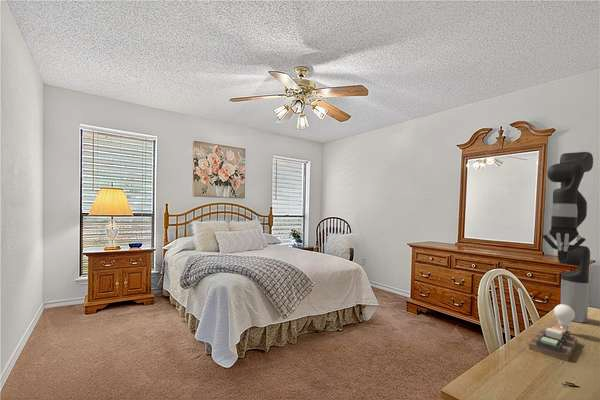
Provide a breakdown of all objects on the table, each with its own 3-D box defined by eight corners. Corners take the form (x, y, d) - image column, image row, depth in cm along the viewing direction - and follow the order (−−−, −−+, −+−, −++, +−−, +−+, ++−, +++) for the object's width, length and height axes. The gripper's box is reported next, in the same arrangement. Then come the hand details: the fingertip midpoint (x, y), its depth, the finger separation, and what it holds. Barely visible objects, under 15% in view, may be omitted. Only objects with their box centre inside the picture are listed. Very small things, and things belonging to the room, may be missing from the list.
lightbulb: (575, 337, 116) (576, 308, 116) (553, 332, 120) (554, 304, 120) (573, 332, 121) (574, 304, 121) (552, 327, 125) (553, 301, 125)
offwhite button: (548, 332, 110) (548, 327, 110) (562, 336, 107) (562, 331, 107) (545, 335, 108) (545, 329, 108) (560, 339, 105) (560, 333, 105)
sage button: (543, 342, 105) (543, 336, 105) (558, 346, 102) (558, 340, 102) (540, 345, 102) (540, 339, 102) (555, 350, 99) (556, 343, 99)
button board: (542, 333, 118) (543, 324, 118) (577, 343, 111) (577, 333, 111) (528, 349, 104) (529, 339, 104) (567, 361, 96) (567, 350, 96)
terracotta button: (552, 331, 116) (552, 326, 116) (566, 335, 113) (566, 329, 113) (550, 334, 113) (550, 328, 113) (564, 337, 110) (564, 332, 110)
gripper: (588, 216, 114) (587, 262, 114) (544, 214, 124) (543, 257, 124) (586, 216, 109) (585, 264, 109) (540, 214, 119) (539, 258, 119)
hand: (562, 260), depth 117 cm, fingers closed
